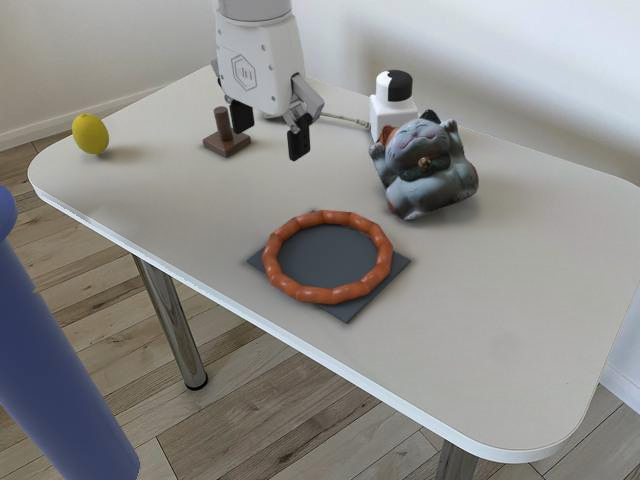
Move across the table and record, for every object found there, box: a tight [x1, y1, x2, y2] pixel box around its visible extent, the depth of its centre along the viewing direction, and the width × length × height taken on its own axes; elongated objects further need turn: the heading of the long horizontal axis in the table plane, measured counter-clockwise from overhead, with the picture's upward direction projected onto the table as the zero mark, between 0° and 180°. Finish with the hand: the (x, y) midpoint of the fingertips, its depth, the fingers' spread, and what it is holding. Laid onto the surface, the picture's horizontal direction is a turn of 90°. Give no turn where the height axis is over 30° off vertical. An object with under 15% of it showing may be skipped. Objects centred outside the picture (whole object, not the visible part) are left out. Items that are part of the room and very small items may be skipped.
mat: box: [246, 209, 411, 324], centre depth 77 cm, size 14×18×1 cm
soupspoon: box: [262, 101, 371, 132], centre depth 103 cm, size 22×3×7 cm
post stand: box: [201, 105, 252, 159], centre depth 97 cm, size 6×6×7 cm
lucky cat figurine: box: [368, 108, 480, 221], centre depth 84 cm, size 15×12×14 cm
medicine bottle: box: [369, 69, 419, 144], centre depth 96 cm, size 7×7×12 cm
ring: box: [262, 209, 394, 305], centre depth 76 cm, size 18×18×2 cm
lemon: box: [71, 112, 110, 156], centre depth 95 cm, size 6×6×8 cm
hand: (271, 142), depth 69 cm, fingers open, 9 cm apart
